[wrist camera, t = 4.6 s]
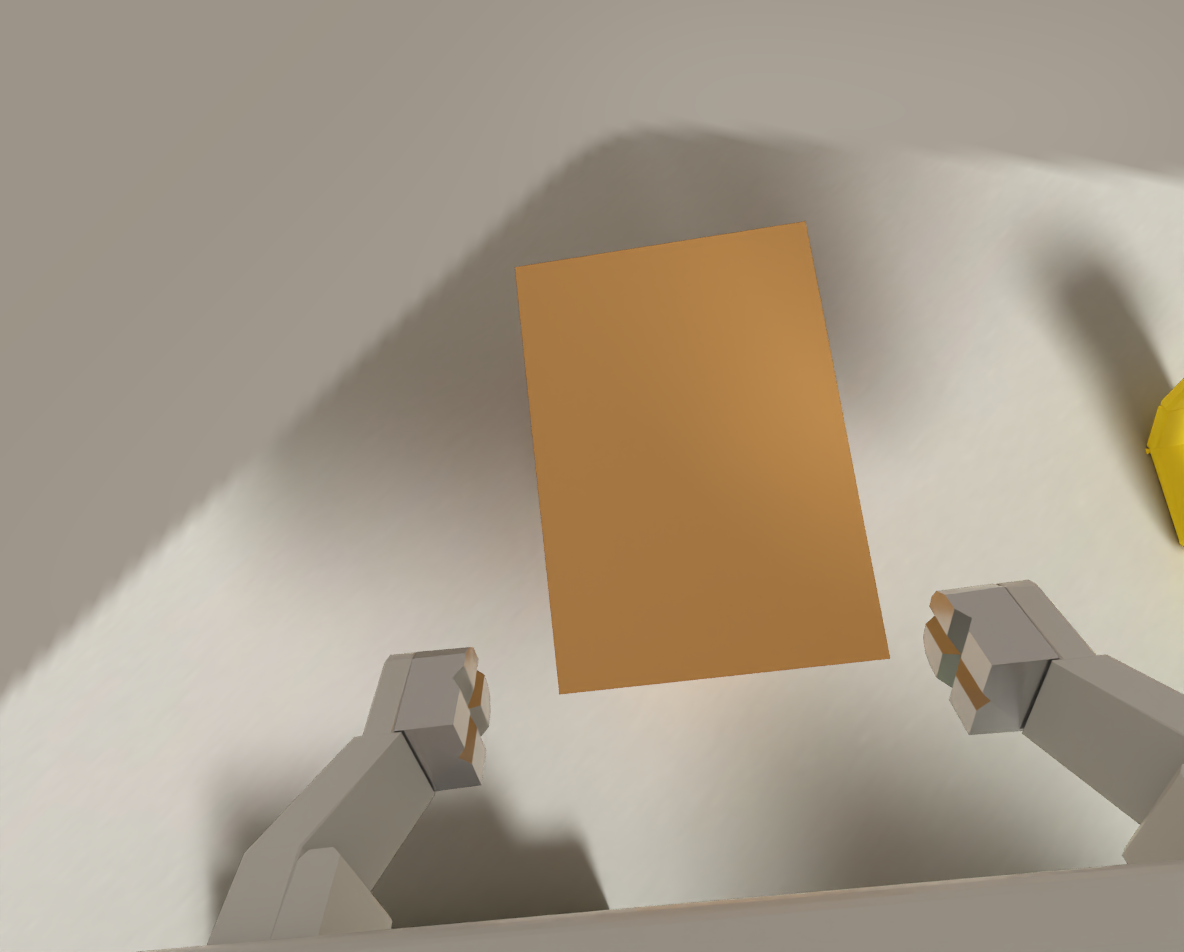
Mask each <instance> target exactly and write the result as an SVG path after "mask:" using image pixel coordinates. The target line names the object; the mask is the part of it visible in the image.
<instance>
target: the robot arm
mask: <svg viewBox="0 0 1184 952" xmlns="http://www.w3.org/2000/svg"><path fill="white" fill-rule="evenodd" d="M929 607H930V608H931V610H932V612H933V613H934V615H935V616H934V617H933V618H932V619H931V620H930V621H928V622H927V623H926V624H925V630H924V636H923V640H924V647H925V653H926V656H927V659H928V662H929V664H930V666H931V668H932V670H933V672H934V674H935V676H936V677H937V678H938V679H939V680H941V681H943V682H944V683H946V684H947V685H949V686H950V687H952V691H951V695H950V699H949V701H950V703H951V704H952V706H953V708H954V710H955V711H956V713H957V715H958V717H959V718H960V720H961V722H962V724H963V725H964V727H965V729H966V731H967V732H968V734H969V735H973V734H986V733H1000V732H1013V731H1023V732H1022V734H1024V735H1025V736H1026V737H1027V738H1029V739H1030V740H1031V741H1033V742H1034V743H1035V744H1036V745H1038V746H1039V747H1040V748H1042V749H1043V750H1044V751H1045V752H1047V753H1048V754H1049V755H1051V756H1052V757H1053V758H1055V759H1056V760H1057V761H1058V762H1060V763H1061V764H1062V765H1064V766H1065V767H1066V768H1067V769H1069V770H1070V771H1071V772H1073V773H1074V774H1075V775H1076V776H1078V777H1079V778H1080V779H1082V780H1083V781H1084V782H1086V783H1087V784H1088V785H1089V786H1091V787H1092V788H1093V789H1095V790H1096V791H1097V792H1098V793H1100V794H1101V795H1102V796H1104V797H1105V798H1106V799H1107V800H1109V801H1110V802H1111V803H1113V804H1114V805H1115V806H1117V807H1118V808H1119V809H1120V810H1122V811H1123V812H1124V813H1126V814H1127V815H1128V816H1129V817H1131V818H1132V819H1133V820H1135V821H1136V822H1137V823H1139V824H1140V826H1139V827H1138V829H1137V830H1136V832H1135V833H1134V835H1133V836H1132V838H1131V839H1130V841H1129V842H1128V843H1127V845H1126V847H1125V849H1124V851H1123V854H1122V856H1123V858H1124V859H1125V861H1126V862H1127V864H1123V865H1112V866H1101V867H1089V868H1078V869H1067V870H1055V871H1044V872H1033V873H1021V874H1010V875H998V876H987V877H976V878H964V879H953V880H942V881H930V882H919V883H907V884H896V885H885V886H873V887H862V888H850V889H839V890H828V891H816V892H805V893H794V894H782V895H771V896H760V897H748V898H737V899H725V900H714V901H703V902H691V903H680V904H669V905H657V906H646V907H635V908H623V909H612V910H601V911H590V912H578V913H567V914H556V915H544V916H533V917H522V918H511V919H499V920H488V921H477V922H465V923H454V924H443V925H432V926H420V927H409V928H398V929H391V926H392V919H391V918H390V916H389V915H388V913H387V912H386V911H385V909H384V908H383V907H382V906H381V904H380V903H379V902H378V901H377V899H376V898H375V897H374V896H373V895H372V893H371V890H372V889H373V887H374V886H375V884H376V883H377V881H378V880H379V878H380V877H381V875H382V874H383V872H384V871H385V869H386V868H387V866H388V865H389V863H390V862H391V860H392V859H393V857H394V856H395V854H396V853H397V851H398V850H399V848H400V847H401V845H402V844H403V842H404V840H405V839H406V837H407V836H408V834H409V833H410V831H411V830H412V828H413V827H414V825H415V824H416V822H417V821H418V819H419V818H420V816H421V815H422V813H423V812H424V810H425V809H426V807H427V806H428V804H429V803H430V801H431V800H432V798H433V797H434V795H435V792H434V791H440V790H448V789H455V788H463V787H471V786H478V785H482V778H483V770H484V762H485V755H486V748H485V746H484V743H483V741H482V738H481V736H482V735H483V733H484V732H485V731H486V730H487V728H488V727H489V722H490V712H491V710H490V693H489V688H488V683H487V680H486V678H485V675H484V674H482V673H481V672H479V671H477V665H478V657H477V655H476V653H475V650H474V648H473V647H466V648H455V649H444V650H433V651H422V652H414V653H404V654H394V655H390V656H389V658H388V659H387V660H386V662H385V663H384V666H383V669H382V673H381V676H380V679H379V683H378V686H377V689H376V692H375V696H374V699H373V702H372V705H371V709H370V712H369V715H368V719H367V722H366V725H365V728H364V732H363V735H362V736H358V737H354V738H353V739H352V740H351V741H350V742H349V743H348V744H347V745H346V746H345V747H344V748H343V749H342V750H341V752H340V753H339V754H338V755H337V756H336V757H335V758H334V759H333V760H332V761H331V762H330V763H329V764H328V765H327V766H326V767H325V768H324V769H323V770H322V772H321V773H320V774H319V775H318V776H317V777H316V778H315V779H314V780H313V781H312V782H311V783H310V784H309V785H308V786H307V787H306V788H305V789H304V791H303V792H302V793H301V794H300V795H299V796H298V797H297V798H296V799H295V800H294V801H293V802H292V803H291V804H290V805H289V806H288V807H287V808H286V809H285V811H284V812H283V813H282V814H281V815H280V816H279V817H278V818H277V819H276V820H275V821H274V822H273V823H272V824H271V825H270V826H269V827H268V828H267V830H266V831H265V832H264V833H263V834H262V835H261V836H260V837H259V838H258V839H257V840H256V841H255V842H254V843H253V844H252V845H251V846H250V847H249V848H248V850H247V851H246V852H245V853H244V855H243V857H242V860H241V862H240V865H239V867H238V870H237V872H236V874H235V877H234V879H233V882H232V884H231V887H230V889H229V892H228V894H227V897H226V899H225V902H224V904H223V906H222V909H221V911H220V914H219V916H218V919H217V921H216V924H215V926H214V929H213V931H212V934H211V936H210V938H209V941H208V943H207V945H206V946H195V947H183V948H172V949H161V950H149V951H138V952H1184V695H1183V694H1182V693H1180V692H1178V691H1176V690H1174V689H1172V688H1170V687H1168V686H1166V685H1164V684H1162V683H1160V682H1158V681H1156V680H1155V679H1153V678H1151V677H1149V676H1147V675H1145V674H1143V673H1141V672H1139V671H1137V670H1135V669H1133V668H1131V667H1129V666H1128V665H1126V664H1124V663H1122V662H1120V661H1118V660H1116V659H1114V658H1112V657H1110V656H1108V655H1096V654H1095V653H1094V651H1093V650H1092V649H1091V648H1090V647H1089V646H1088V644H1087V643H1086V642H1085V641H1084V640H1083V639H1082V637H1081V636H1080V635H1079V634H1078V633H1077V631H1076V630H1075V629H1074V628H1073V627H1072V626H1071V624H1070V623H1069V622H1068V621H1067V620H1066V618H1065V617H1064V616H1063V615H1062V614H1061V613H1060V611H1059V610H1058V609H1057V608H1056V607H1055V606H1054V604H1053V603H1052V602H1051V601H1050V600H1049V598H1048V597H1047V596H1046V595H1045V594H1044V593H1043V591H1042V590H1041V589H1040V588H1039V587H1038V585H1037V584H1035V583H1034V582H1032V581H1030V580H1023V581H1015V582H1006V583H998V584H987V585H979V586H971V587H964V588H956V589H948V590H941V591H936V592H935V593H934V595H933V596H932V598H931V602H930V606H929Z"/></svg>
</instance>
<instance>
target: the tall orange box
mask: <svg viewBox="0 0 1184 952" xmlns="http://www.w3.org/2000/svg"><path fill="white" fill-rule="evenodd" d="M515 274H516V283H517V293H518V302H519V312H520V321H521V331H522V341H523V350H524V360H525V369H526V379H527V388H528V398H529V408H530V417H531V427H532V436H533V446H534V455H535V465H536V475H537V484H538V494H539V503H540V513H541V522H542V532H543V542H544V551H545V561H546V570H547V580H548V589H549V599H550V609H551V618H552V628H553V637H554V647H555V656H556V666H557V676H558V685H559V694H567V693H577V692H586V691H595V690H604V689H614V688H623V687H632V686H641V685H650V684H660V683H669V682H678V681H687V680H696V679H706V678H715V677H724V676H733V675H743V674H752V673H761V672H770V671H779V670H789V669H798V668H807V667H816V666H825V665H835V664H844V663H853V662H862V661H872V660H881V659H890V655H889V650H888V645H887V639H886V634H885V629H884V624H883V619H882V614H881V608H880V603H879V598H878V593H877V588H876V583H875V577H874V572H873V567H872V562H871V557H870V552H869V546H868V541H867V536H866V531H865V526H864V521H863V516H862V510H861V505H860V500H859V495H858V490H857V485H856V479H855V474H854V469H853V464H852V459H851V454H850V448H849V443H848V438H847V433H846V428H845V423H844V417H843V412H842V407H841V402H840V397H839V392H838V387H837V381H836V376H835V371H834V366H833V361H832V356H831V350H830V345H829V340H828V335H827V330H826V325H825V319H824V314H823V309H822V304H821V299H820V294H819V288H818V283H817V278H816V273H815V268H814V263H813V258H812V252H811V247H810V242H809V237H808V232H807V227H806V221H804V222H797V223H791V224H785V225H778V226H772V227H766V228H759V229H753V230H747V231H740V232H734V233H728V234H721V235H715V236H709V237H702V238H696V239H690V240H683V241H677V242H671V243H664V244H658V245H652V246H645V247H639V248H633V249H626V250H620V251H614V252H607V253H601V254H595V255H588V256H582V257H576V258H569V259H563V260H557V261H550V262H544V263H538V264H531V265H525V266H519V267H515Z"/></svg>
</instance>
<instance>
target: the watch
mask: <svg viewBox="0 0 1184 952" xmlns="http://www.w3.org/2000/svg"><path fill="white" fill-rule="evenodd" d="M1147 447H1149V448H1146V449H1145V450H1146V453H1147V454H1150V453H1151V456H1152V459H1153V462H1154V465H1155V468H1156V471H1157V475H1158V478H1159V481H1160V484H1161V487H1162V490H1163V493H1164V496H1165V499H1166V502H1167V505H1168V508H1169V511H1170V514H1171V517H1172V520H1173V523H1174V527H1175V530H1176V533H1177V536H1178V539H1179V543H1180V544H1181V545H1182V546H1183V547H1184V378H1183V379H1182V380H1181V381H1180V382H1179V383H1178V384H1177V385H1176V386H1175V387H1174V388H1173V389H1172V390H1171V391H1170V392H1169V393H1168V395H1167V396H1166V397H1165V398H1164V399H1163V400H1162V401H1161V405H1160V406H1158V409H1157V412H1156V416H1155V419H1154V423H1153V426H1152V429H1151V433H1150V436H1149V439H1148V443H1147Z"/></svg>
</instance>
